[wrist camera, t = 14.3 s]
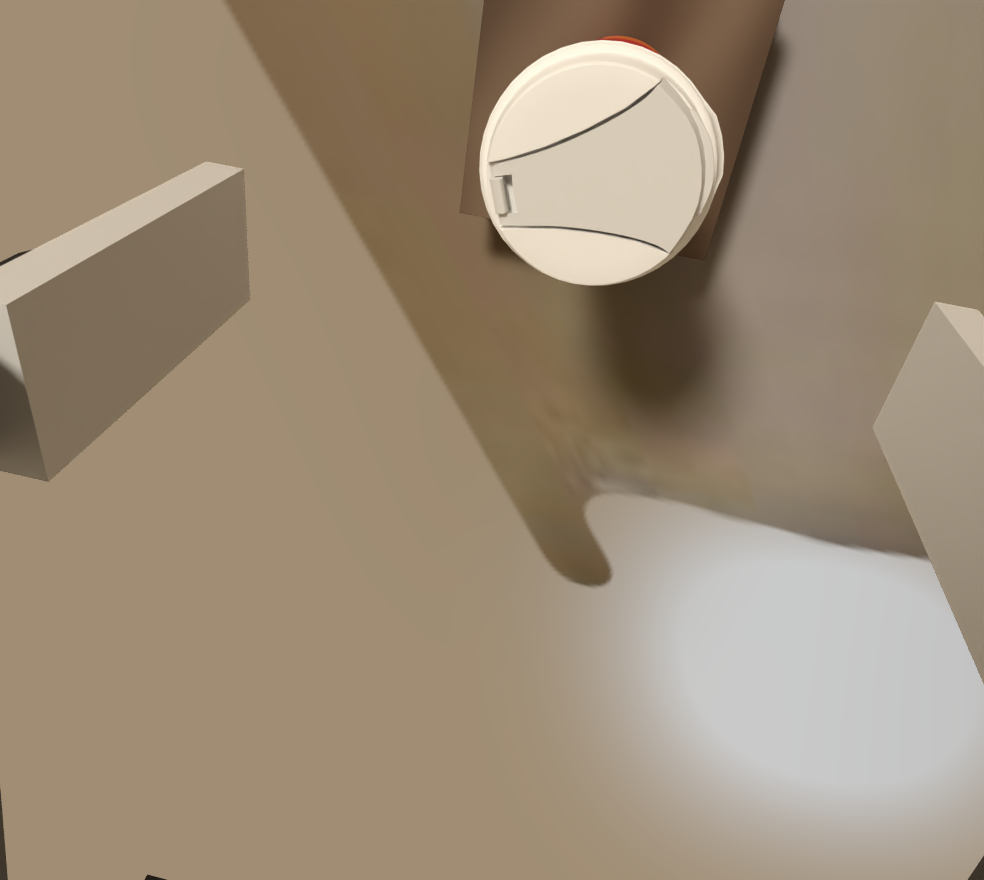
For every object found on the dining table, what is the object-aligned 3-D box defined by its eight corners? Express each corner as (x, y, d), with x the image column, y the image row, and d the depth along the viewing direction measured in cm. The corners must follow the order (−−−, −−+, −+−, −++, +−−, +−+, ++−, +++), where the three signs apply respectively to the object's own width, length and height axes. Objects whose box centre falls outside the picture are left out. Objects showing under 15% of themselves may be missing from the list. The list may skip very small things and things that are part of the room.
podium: (781, -35, 35) (794, -32, 32) (700, 235, 42) (704, 260, 39) (508, -81, 36) (493, -83, 33) (474, 191, 43) (459, 212, 40)
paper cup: (543, 198, 38) (495, 310, 27) (518, 26, 35) (449, 70, 23) (706, 176, 37) (730, 286, 25) (699, -10, 33) (723, 20, 21)
